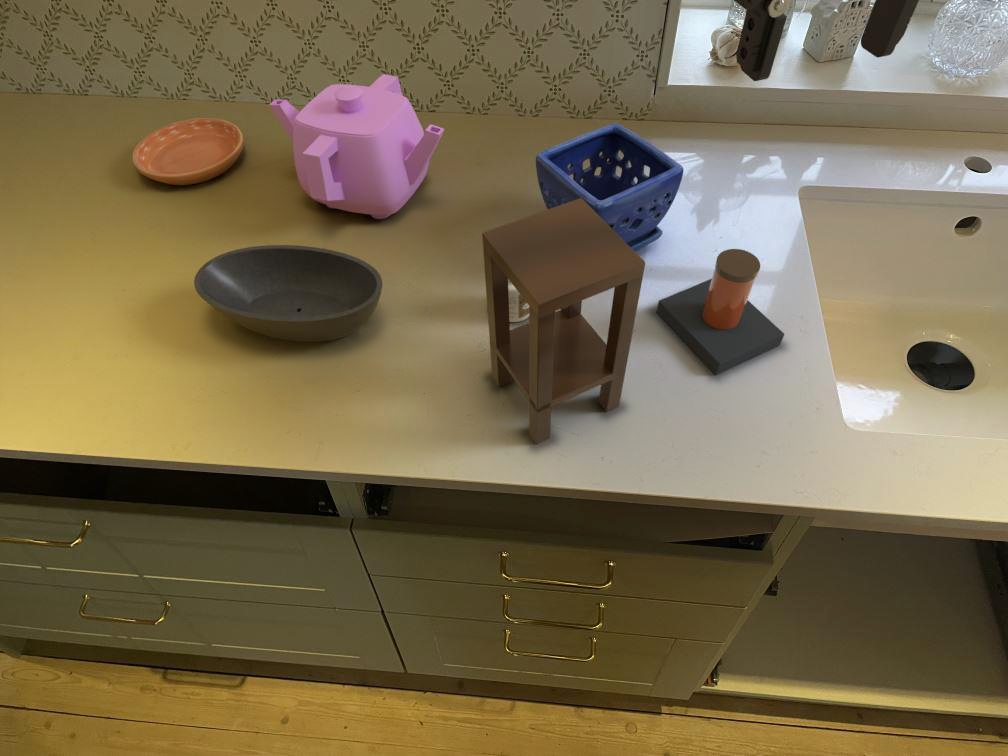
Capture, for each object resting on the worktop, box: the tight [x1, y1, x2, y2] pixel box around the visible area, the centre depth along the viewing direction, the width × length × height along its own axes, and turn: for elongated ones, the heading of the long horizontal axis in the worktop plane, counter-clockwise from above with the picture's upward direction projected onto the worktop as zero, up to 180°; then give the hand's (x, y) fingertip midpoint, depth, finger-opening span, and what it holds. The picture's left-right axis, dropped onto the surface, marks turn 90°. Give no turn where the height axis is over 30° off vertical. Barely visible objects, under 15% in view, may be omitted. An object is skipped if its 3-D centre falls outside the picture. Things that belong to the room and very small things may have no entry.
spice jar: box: [702, 248, 761, 330], centre depth 70 cm, size 4×4×8 cm
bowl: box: [193, 244, 383, 343], centre depth 75 cm, size 12×22×6 cm, turn 79°
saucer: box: [131, 117, 245, 186], centre depth 99 cm, size 16×16×3 cm
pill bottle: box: [508, 279, 529, 323], centre depth 75 cm, size 4×4×8 cm
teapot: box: [268, 73, 445, 220], centre depth 88 cm, size 19×18×15 cm
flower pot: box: [535, 122, 684, 252], centre depth 81 cm, size 13×13×12 cm
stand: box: [481, 198, 646, 445], centre depth 62 cm, size 10×10×20 cm
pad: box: [656, 278, 785, 376], centre depth 74 cm, size 11×9×2 cm
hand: (814, 62), depth 40 cm, fingers open, 8 cm apart
